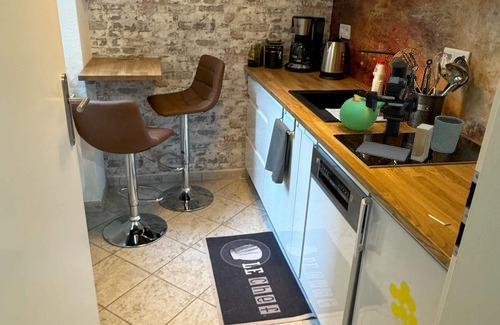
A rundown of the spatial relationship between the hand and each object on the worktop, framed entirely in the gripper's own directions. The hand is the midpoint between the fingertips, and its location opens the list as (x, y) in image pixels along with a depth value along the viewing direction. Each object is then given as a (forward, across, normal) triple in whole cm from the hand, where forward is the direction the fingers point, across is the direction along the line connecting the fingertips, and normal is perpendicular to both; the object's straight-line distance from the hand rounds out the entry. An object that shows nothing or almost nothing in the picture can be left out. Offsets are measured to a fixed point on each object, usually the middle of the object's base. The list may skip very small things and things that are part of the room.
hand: (386, 112), depth 146 cm
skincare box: (+3, +13, +16) cm, 21 cm away
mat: (+3, 0, +15) cm, 16 cm away
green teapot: (-18, -15, +21) cm, 32 cm away
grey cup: (-11, +20, +21) cm, 31 cm away
